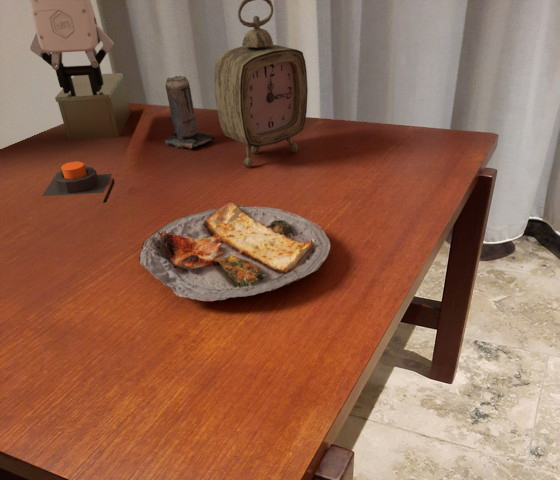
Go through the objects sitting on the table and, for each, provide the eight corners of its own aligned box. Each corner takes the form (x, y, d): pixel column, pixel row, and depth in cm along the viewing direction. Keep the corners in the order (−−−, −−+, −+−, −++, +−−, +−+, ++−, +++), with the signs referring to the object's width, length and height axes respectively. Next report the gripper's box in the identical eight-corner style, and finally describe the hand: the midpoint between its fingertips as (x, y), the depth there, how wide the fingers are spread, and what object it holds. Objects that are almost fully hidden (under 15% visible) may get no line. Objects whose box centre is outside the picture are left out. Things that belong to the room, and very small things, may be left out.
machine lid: (109, 99, 104) (102, 67, 100) (56, 102, 104) (47, 70, 100) (123, 77, 116) (117, 47, 113) (75, 79, 116) (68, 50, 112)
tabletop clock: (245, 173, 97) (232, 3, 81) (216, 159, 103) (199, -2, 86) (307, 152, 104) (307, -9, 87) (277, 140, 109) (272, -13, 93)
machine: (120, 145, 110) (110, 98, 104) (70, 148, 110) (57, 100, 104) (132, 121, 122) (123, 77, 116) (86, 123, 122) (75, 79, 116)
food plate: (115, 253, 77) (109, 229, 75) (252, 205, 87) (250, 183, 85) (210, 336, 62) (206, 310, 59) (362, 266, 72) (364, 241, 70)
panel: (44, 206, 90) (37, 185, 87) (56, 186, 96) (50, 166, 93) (106, 202, 90) (101, 181, 88) (114, 183, 96) (110, 163, 94)
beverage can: (160, 148, 108) (149, 80, 100) (180, 135, 114) (171, 70, 106) (201, 152, 106) (192, 84, 98) (219, 139, 111) (212, 73, 103)
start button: (62, 181, 89) (58, 170, 88) (67, 172, 92) (64, 162, 91) (84, 179, 89) (81, 169, 88) (89, 171, 92) (86, 160, 91)
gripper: (-5, -23, 89) (32, 98, 101) (101, -28, 90) (125, 93, 102) (9, -28, 95) (43, 88, 107) (109, -33, 95) (131, 83, 107)
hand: (83, 89), depth 104 cm, fingers closed on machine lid, 5 cm apart
